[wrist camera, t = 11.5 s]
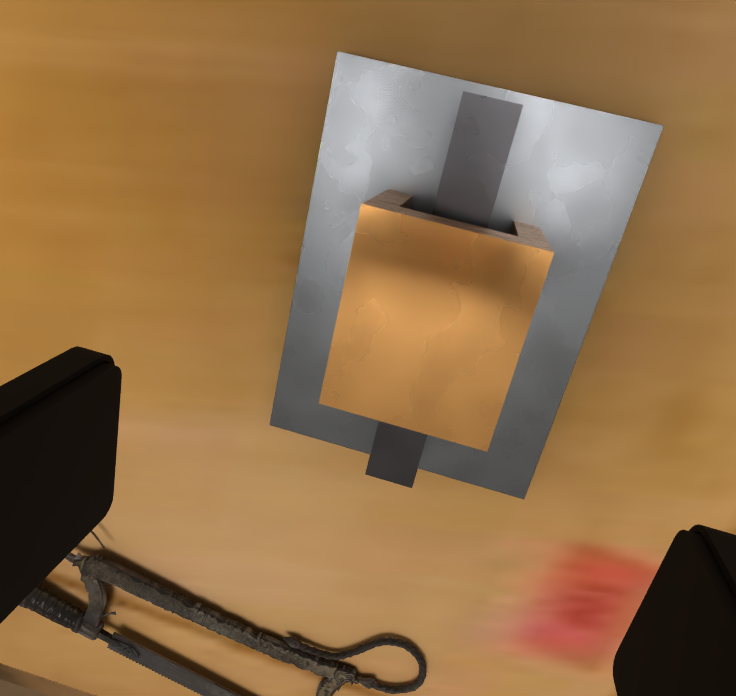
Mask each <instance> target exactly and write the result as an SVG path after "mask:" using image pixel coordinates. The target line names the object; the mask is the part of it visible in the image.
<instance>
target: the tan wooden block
mask: <svg viewBox="0 0 736 696" xmlns="http://www.w3.org/2000/svg"><path fill="white" fill-rule="evenodd" d="M412 197H413V195H409V194H405V193H401V192H397V191H392V190H386V191H384V192H382V193H380V194H378V195H377V196H375V197H373V198H371V199H369V200H367V201H365V202H363V203H361V207H360V212H359V216H358V221H357V226H356V230H355V235H354V240H353V245H352V249H351V254H350V259H349V263H348V268H347V273H346V277H345V282H344V287H343V291H342V296H341V301H340V306H339V310H338V315H337V320H336V324H335V329H334V334H333V338H332V343H331V348H330V353H329V357H328V362H327V367H326V371H325V376H324V381H323V385H322V390H321V395H320V399H319V404H322V405H326V406H329V407H333V408H336V409H340V410H343V411H347V412H350V413H354V414H357V415H361V416H364V417H368V418H371V419H375V420H378V421H382V422H385V423H389V424H392V425H396V426H399V427H402V428H406V429H409V430H413V431H416V432H420V433H423V434H427V435H430V436H434V437H437V438H441V439H444V440H448V441H451V442H455V443H458V444H462V445H465V446H469V447H472V448H476V449H479V450H483V451H486V452H487V451H488V448H489V445H490V442H491V439H492V436H493V433H494V430H495V427H496V424H497V421H498V418H499V415H500V412H501V410H502V407H503V404H504V401H505V398H506V395H507V392H508V389H509V386H510V383H511V380H512V377H513V374H514V371H515V368H516V365H517V362H518V359H519V356H520V353H521V350H522V347H523V344H524V341H525V338H526V335H527V332H528V329H529V326H530V323H531V320H532V317H533V314H534V312H535V309H536V306H537V303H538V300H539V297H540V294H541V291H542V288H543V285H544V282H545V279H546V276H547V273H548V270H549V267H550V264H551V261H552V258H553V255H554V251H553V249H552V248H551V246H550V244H549V243H548V241H547V239H546V237H545V236H544V234H543V232H542V231H541V229H540V227H537V226H533V225H529V224H525V223H521V222H517V221H513V225H512V228H511V231H510V234H507V233H503V232H499V231H495V230H491V229H487V228H483V227H479V226H475V225H471V224H467V223H463V222H459V221H455V220H451V219H447V218H443V217H439V216H435V215H431V214H427V213H423V212H419V211H415V210H412V209H410V205H411V201H412Z"/></svg>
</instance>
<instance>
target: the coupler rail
mask: <svg viewBox="0 0 736 696" xmlns="http://www.w3.org/2000/svg"><path fill="white" fill-rule="evenodd" d="M662 129H663V125H659V124H655V123H650V122H646V121H641V120H637V119H633V118H628V117H624V116H619V115H615V114H611V113H606V112H602V111H597V110H593V109H589V108H584V107H580V106H576V105H571V104H567V103H562V102H558V101H554V100H549V99H545V98H540V97H536V96H532V95H527V94H523V93H518V92H514V91H510V90H505V89H501V88H497V87H492V86H488V85H483V84H479V83H475V82H470V81H466V80H461V79H457V78H453V77H448V76H444V75H440V74H435V73H431V72H426V71H422V70H418V69H413V68H409V67H404V66H400V65H396V64H391V63H387V62H382V61H378V60H374V59H369V58H365V57H361V56H356V55H352V54H347V53H343V52H339V51H337V57H336V62H335V68H334V73H333V79H332V84H331V90H330V95H329V101H328V106H327V112H326V117H325V123H324V128H323V134H322V139H321V145H320V150H319V156H318V161H317V167H316V172H315V178H314V183H313V189H312V194H311V200H310V205H309V211H308V216H307V222H306V227H305V233H304V238H303V244H302V249H301V255H300V260H299V266H298V271H297V277H296V282H295V288H294V293H293V299H292V304H291V310H290V315H289V321H288V326H287V332H286V337H285V343H284V348H283V354H282V359H281V365H280V370H279V376H278V381H277V387H276V392H275V398H274V403H273V409H272V414H271V420H270V425H272V426H275V427H279V428H282V429H285V430H289V431H292V432H296V433H299V434H303V435H306V436H309V437H313V438H316V439H320V440H323V441H326V442H330V443H333V444H337V445H340V446H344V447H347V448H350V449H354V450H357V451H361V452H364V453H367V454H370V458H369V462H368V466H367V470H366V473H365V474H366V475H370V476H373V477H376V478H380V479H383V480H387V481H390V482H393V483H397V484H400V485H403V486H407V487H410V488H412V486H413V482H414V479H415V476H416V472H417V469H418V468H419V469H422V470H426V471H429V472H432V473H436V474H439V475H443V476H446V477H450V478H453V479H456V480H460V481H463V482H467V483H470V484H473V485H477V486H480V487H484V488H487V489H491V490H494V491H497V492H501V493H504V494H508V495H511V496H514V497H518V498H521V499H524V498H525V496H526V493H527V490H528V488H529V485H530V482H531V480H532V477H533V474H534V472H535V469H536V466H537V464H538V461H539V458H540V456H541V453H542V450H543V448H544V445H545V442H546V440H547V437H548V434H549V432H550V429H551V426H552V424H553V421H554V418H555V415H556V413H557V410H558V407H559V405H560V402H561V399H562V397H563V394H564V391H565V389H566V386H567V383H568V381H569V378H570V375H571V373H572V370H573V367H574V365H575V362H576V359H577V357H578V354H579V351H580V349H581V346H582V343H583V341H584V338H585V335H586V332H587V330H588V327H589V324H590V322H591V319H592V316H593V314H594V311H595V308H596V306H597V303H598V300H599V298H600V295H601V292H602V290H603V287H604V284H605V282H606V279H607V276H608V274H609V271H610V268H611V266H612V263H613V260H614V258H615V255H616V252H617V249H618V247H619V244H620V241H621V239H622V236H623V233H624V231H625V228H626V225H627V223H628V220H629V217H630V215H631V212H632V209H633V207H634V204H635V201H636V199H637V196H638V193H639V191H640V188H641V185H642V183H643V180H644V177H645V174H646V172H647V169H648V166H649V164H650V161H651V158H652V156H653V153H654V150H655V148H656V145H657V142H658V140H659V137H660V134H661V132H662ZM386 190H392V191H397V192H401V193H405V194H409V195H413V197H412V201H411V205H410V209H412V210H415V211H419V212H423V213H427V214H431V215H435V216H439V217H443V218H447V219H451V220H455V221H459V222H463V223H467V224H471V225H475V226H479V227H483V228H487V229H491V230H495V231H499V232H503V233H507V234H510V231H511V228H512V225H513V221H517V222H521V223H525V224H529V225H533V226H537V227H540V229H541V231H542V232H543V234H544V236H545V237H546V239H547V241H548V243H549V244H550V246H551V248H552V249H553V251H554V255H553V258H552V261H551V264H550V267H549V270H548V273H547V276H546V279H545V282H544V285H543V288H542V291H541V294H540V297H539V300H538V303H537V306H536V309H535V312H534V314H533V317H532V320H531V323H530V326H529V329H528V332H527V335H526V338H525V341H524V344H523V347H522V350H521V353H520V356H519V359H518V362H517V365H516V368H515V371H514V374H513V377H512V380H511V383H510V386H509V389H508V392H507V395H506V398H505V401H504V404H503V407H502V410H501V412H500V415H499V418H498V421H497V424H496V427H495V430H494V433H493V436H492V439H491V442H490V445H489V448H488V451H487V452H486V451H483V450H479V449H476V448H472V447H469V446H465V445H462V444H458V443H455V442H451V441H448V440H444V439H441V438H437V437H434V436H430V435H427V434H423V433H420V432H416V431H413V430H409V429H406V428H402V427H399V426H396V425H392V424H389V423H385V422H382V421H378V420H375V419H371V418H368V417H364V416H361V415H357V414H354V413H350V412H347V411H343V410H340V409H336V408H333V407H329V406H326V405H322V404H319V399H320V395H321V390H322V385H323V381H324V376H325V371H326V367H327V362H328V357H329V353H330V348H331V343H332V338H333V334H334V329H335V324H336V320H337V315H338V310H339V306H340V301H341V296H342V291H343V287H344V282H345V277H346V273H347V268H348V263H349V259H350V254H351V249H352V245H353V240H354V235H355V230H356V226H357V221H358V216H359V212H360V207H361V203H363V202H365V201H367V200H369V199H371V198H373V197H375V196H377V195H378V194H380V193H382V192H384V191H386Z"/></svg>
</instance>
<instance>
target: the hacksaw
mask: <svg viewBox="0 0 736 696" xmlns="http://www.w3.org/2000/svg"><path fill="white" fill-rule="evenodd" d="M91 533H92V534H93V535H94V536H95V538H96V539H97V540H98V541H99V543H100V544H101V546H102V547H103V549H104V548H105V547H104V546H103V544H102V543H101V541H100V540H99V538H98V537H97V536H96V534H95V533H94V532H93V531H91ZM65 558H66V559H67V560H68V561H70V562H72V563H73V565H72V566H78V567H79V570H80V573H81V581H82V582H83V583H85V587H86V591H87V592H89V605H88V607H87V610H86V611H82V610H81V609H80V608H79V607H76V606H74V605H72V603H70V602H68V601H66V600H64V599H62V598H60V597H59V596H57V595H56V594H54V593H52V592H50V591H48V590H47V588H42V587H41V586H40V585H38V586H37V587H36V588H35V589H34V590H33V591H32V592H31V593H30V594H29V595H28V596H27V597H26V598H25V599H24V600H23V601H22V602H21V603H20V604H19V606H22V607H24V608H29V609H30V610H31V611H35V612H36V613H38V614H40V615H42V616H44V617H46V618H48V619H50V620H51V621H53V622H55V623H58V624H60V625H62V626H64V627H66V628H71V630H72V631H73V632H75V633H80V634H81V635H83V636H85V637H86V638H89V639H91V640H96V639H97V638H99V639H101V640H103V641H105V642H107V643H109V645H108V647H107V648H110V650H113V651H116V653H119V654H120V655H123V656H126V658H129V659H132V660H133V661H135V662H136V663H139V664H142V666H145V667H146V668H149V669H151V670H152V671H155V673H156V672H157V673H158V674H161V675H162V676H165V677H168V679H171V680H172V681H174V682H177V683H178V684H181V685H183V686H184V687H187V688H188V689H191V690H193V691H194V692H197V694H200V695H203V696H241V695H239V694H237V693H235V692H233V691H231V690H229V689H227V688H225V687H223V686H221V685H219V684H218V683H216V682H214V681H212V680H210V679H208V678H206V677H204V676H202V675H200V674H198V673H196V672H194V671H192V670H190V669H188V668H186V667H184V666H182V665H180V664H178V663H176V662H174V661H172V660H170V659H168V658H166V657H164V656H162V655H160V654H158V653H156V652H154V651H152V650H150V649H148V648H146V647H144V646H142V645H140V644H138V643H136V642H134V641H132V640H130V639H128V638H126V637H124V636H122V635H120V634H118V633H116V632H114V633H113V635H112V634H110V633H109V632H107V631H105V630H104V629H103V627H104V622H102V621H101V619H102V617H104V616H107V615H110V614H113V615H116V612H111V613H108V614H105V615H103V612H104V609H105V605H106V602H107V598H106V590H105V585H104V582H106V583H109V584H111V585H115V586H118V587H120V588H122V589H123V590H124V591H126V592H129V593H131V594H133V595H135V596H137V597H139V598H142V599H145V600H146V601H150V602H151V603H152V604H154V605H156V606H159V607H162V608H164V610H167V611H171V612H172V613H176V614H178V615H179V616H181V617H183V618H185V619H188V620H191V621H192V622H195V623H197V624H199V625H201V626H205V627H206V628H207V629H208V630H212V631H216V633H218V634H219V635H224V636H226V637H228V638H230V639H232V640H235V641H236V642H238V643H242V644H244V645H246V646H248V647H250V648H252V649H255V650H257V651H258V652H262V653H263V654H268V655H269V656H270V657H272V658H275V659H277V660H280V661H282V662H285V663H288V664H290V663H292V664H294V665H295V666H296V667H298V668H300V669H303V670H310V671H311V672H313V673H314V674H316V675H318V676H323V677H325V678H324V679H323V681H322V682H321V683H320V685H319V687H318V689H317V692H316V696H332V695H333V694H334V693H335V691H336V690H338V691H339V689H340V687H341V686H342V685H344V684H345V683H346V682H350V683H351V685H352V684H353V682H354V683H355V684H357V683H361V684H362V685H363V686H365V687H366V688H368V689H371V687H372V688H374V689H376V690H379V691H383V692H385V693H391V694H397V693H407V692H410V691H415V690H416V689H418V688H419V687H420V686H421V685H422V684H423V682H424V680H425V677H426V665H425V660H424V658H423V657H422V655H421V654H420V653H419V652H418V650H417V649H416V648H415V647H414V646H412V645H411V644H410V643H409V642H405V641H403V640H400V639H395V638H391V637H389V638H379V639H376V640H373V641H370V642H367V643H365V644H363V645H360V646H358V647H357V648H354V649H352V650H348V651H343V652H340V653H330V652H328V651H323V650H319V649H317V648H315V647H310V646H309V645H307V644H303V643H301V641H300V640H299V639H298V638H295V637H283V639H284V640H285V641H286V643H285V642H284V641H280V640H278V639H276V638H274V637H271V636H269V635H267V634H263V633H262V632H259V633H257V632H255V631H254V630H253V629H252V628H251V627H247V626H246V627H245V626H244V625H243V624H242V623H240V622H237V621H236V620H232V619H230V618H226V617H223V616H221V615H220V613H219V612H216V611H214V610H212V609H209V608H207V607H206V606H202V604H201V603H199V602H192V601H190V600H189V599H187V598H186V597H185V596H182V594H181V595H180V594H179V593H176V592H175V591H174V590H171V589H168V588H166V587H164V586H161V585H160V584H159V583H157V582H153V581H152V580H150V579H148V578H146V577H143V576H141V575H139V574H137V573H135V572H134V571H132V570H130V569H128V568H126V567H125V566H122V565H120V564H118V563H116V562H114V561H111V560H109V559H107V558H105V557H104V556H101V555H99V554H95V555H92V556H82V555H81V554H80V553H78V554H77V555H74V554H72V553H71V552H70V553H69V554H68V555H67V556H66V557H65ZM103 581H104V582H103ZM382 645H391V646H398V647H401V648H404V649H406V650H407V651H408V652H410V653H411V654H412V655H413V656H414V657H415V658H416V660H417V662H418V664H419V669H420V671H419V676H418V679H417V680H416V681H414V683H413V684H408V685H405V686H402V685H401V686H398V687H397V686H388V685H382V684H380V683H378V682H375V679H373V678H360V676H359V675H358V674H357V672H356V671H357V670H356V669H354V668H352V667H350V666H346V665H342V664H341V665H338V662H334V661H330V660H325V659H334V660H339V659H345V658H347V657H352V656H353V655H358V654H360V653H363V652H365V651H367V650H370V649H372V648H375V647H377V646H382ZM319 657H323V658H325V659H321V658H319Z"/></svg>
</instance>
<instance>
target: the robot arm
mask: <svg viewBox="0 0 736 696" xmlns="http://www.w3.org/2000/svg"><path fill="white" fill-rule="evenodd" d="M121 379H122V374H121V369H120V368H119V367H118V366H115V365H114V361H113V358H112V357H111V356H110V355H106V354H103V353H99V352H96V351H93V350H89V349H86V348H82V347H78V346H77V347H73V348H71V349H69V350H67V351H65V352H64V353H62V354H60V355H58V356H56V357H54V358H52V359H50V360H49V361H47V362H45V363H43V364H41V365H39V366H37V367H35V368H34V369H32V370H30V371H28V372H26V373H24V374H22V375H20V376H19V377H17V378H15V379H13V380H11V381H9V382H7V383H5V384H4V385H2V386H0V623H1V622H2V621H3V620H4V619H5V618H6V617H7V616H8V615H9V614H10V613H11V612H12V611H13V610H14V609H15V608H16V607H17V606H18V605H19V604H20V603H21V602H22V601H23V600H24V599H25V598H26V597H27V596H28V595H29V594H30V593H31V592H32V591H33V590H34V589H35V588H36V587H37V586H38V585H39V584H40V583H41V582H42V581H43V580H44V579H45V577H46V576H47V575H48V574H49V573H50V572H51V571H52V570H53V569H54V568H55V567H56V566H57V565H58V564H59V563H60V562H61V561H62V560H63V559H64V558H65V557H66V556H67V555H68V554H69V553H70V552H71V551H72V550H73V549H74V548H75V547H76V546H77V545H78V544H79V543H80V542H81V541H82V540H83V539H84V538H85V537H86V536H87V535H88V534H89V533H90V532H91V531H92V530H93V528H94V527H95V526H96V525H97V524H98V523H99V522H100V521H101V520H102V519H103V518H104V517H105V516H106V514H107V512H108V511H109V509H110V506H111V504H112V501H113V494H114V479H115V465H116V451H117V436H118V422H119V408H120V393H121ZM613 678H614V683H615V687H616V692H617V696H736V535H734V534H730V533H727V532H723V531H720V530H717V529H713V528H710V527H706V526H703V525H699V524H698V525H695V526H693V527H692V528H691V529H690V530H689V531H686V530H681V531H679V532H678V533H677V535H676V536H675V538H674V540H673V542H672V544H671V546H670V548H669V550H668V551H667V553H666V555H665V557H664V559H663V561H662V563H661V565H660V567H659V569H658V571H657V573H656V575H655V577H654V579H653V581H652V583H651V585H650V587H649V589H648V591H647V593H646V595H645V597H644V599H643V601H642V603H641V605H640V607H639V609H638V611H637V613H636V615H635V617H634V619H633V621H632V623H631V625H630V627H629V629H628V631H627V633H626V635H625V637H624V638H623V640H622V642H621V644H620V646H619V648H618V650H617V653H616V655H615V659H614V664H613ZM0 696H96V695H93V694H90V693H87V692H84V691H81V690H78V689H75V688H72V687H69V686H66V685H63V684H60V683H57V682H54V681H51V680H48V679H45V678H42V677H39V676H36V675H34V674H31V673H28V672H25V671H22V670H19V669H16V668H13V667H10V666H7V665H4V664H1V663H0Z"/></svg>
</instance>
